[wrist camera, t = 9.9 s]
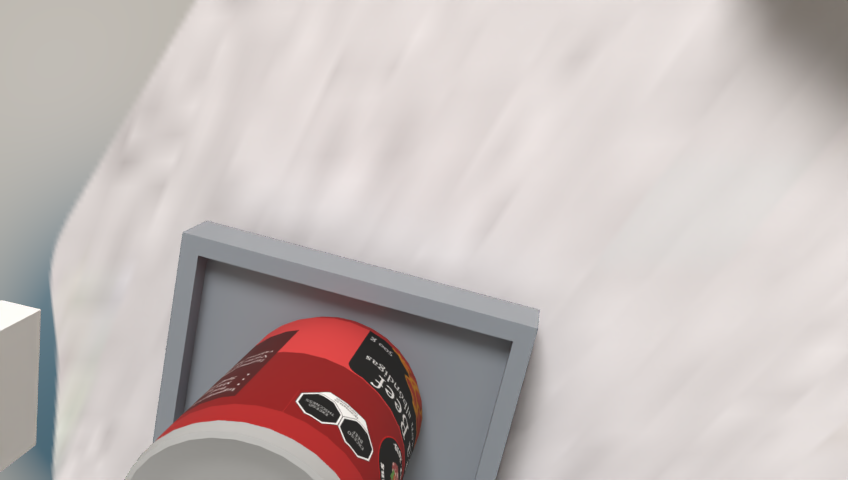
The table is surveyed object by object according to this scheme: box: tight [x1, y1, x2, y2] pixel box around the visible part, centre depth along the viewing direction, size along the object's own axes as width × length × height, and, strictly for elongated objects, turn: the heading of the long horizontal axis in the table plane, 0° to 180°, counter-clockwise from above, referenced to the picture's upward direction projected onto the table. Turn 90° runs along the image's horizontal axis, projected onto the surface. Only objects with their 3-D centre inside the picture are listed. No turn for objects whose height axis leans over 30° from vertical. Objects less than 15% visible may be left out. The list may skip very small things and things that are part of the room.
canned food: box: [124, 316, 422, 480], centre depth 29 cm, size 8×8×11 cm
